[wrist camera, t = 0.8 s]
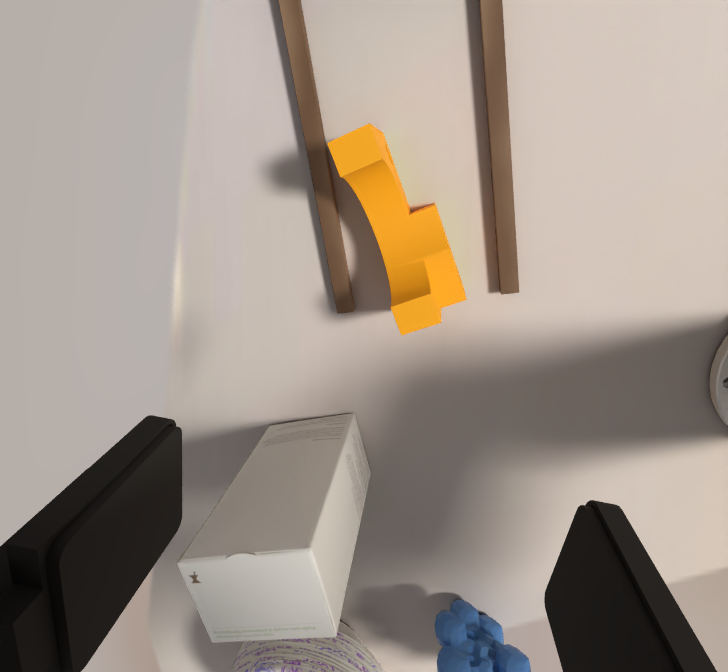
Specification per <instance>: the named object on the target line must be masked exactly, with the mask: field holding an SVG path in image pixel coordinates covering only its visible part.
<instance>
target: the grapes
mask: <svg viewBox="0 0 728 672" xmlns="http://www.w3.org/2000/svg"><path fill="white" fill-rule="evenodd" d="M435 633H436V637H437V640H438V642H439V643H440V645H441V646H442V647H443V648H442V649H441V650H440V651H439V653H438V659H437V669H438V672H531V668H530V663H529V659H528V657H527V656H526V655H524V654H523V653H522V652H521V651H520V650H518V649H517V648H515V647H513V646H511V645H508V644H507V645H503V643H504V638H503V631H502V627H501V625H500V624H499V623H498V622H496V621H495V620H494V619H493V618H491V617H489V616H486V615H479V614H478V610H477V609H476V608H474V607H473V606H472V605H471V604H470V603H468V602H466V601H464V600H455V601H454V602H453V603H452V604H451V607H450V611H449V610H446V611H441V612H440V613H439V614H438V615H437V616H436V621H435Z"/></svg>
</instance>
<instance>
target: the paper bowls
mask: <svg viewBox="0 0 728 672" xmlns="http://www.w3.org/2000/svg"><path fill="white" fill-rule="evenodd" d="M230 672H384V670H383V668H382V666H381V665H380V663H379V662H378V661H377V659H376V658H375V657H374V655H373V654H372V653H371V652H370V651H369V650H368V649H367V648H366V647H365V646H364V644H363V643H362V641H361V639H360V638H359V637H358V636H357V634H356V633H355V632H354V631H353V630H352V629H351V628H349V627H348V626H347V625H345V624H344V623H342V622H341V621H339V626H338V630H337V636H336V637H325V638H299V639H276V640H256V641H243V643H242V645H241V647H240V650H239V652H238V654H237V657H236V659H235V661H234V664H233V666H232V669H231V671H230Z"/></svg>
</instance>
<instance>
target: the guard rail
mask: <svg viewBox="0 0 728 672" xmlns="http://www.w3.org/2000/svg"><path fill="white" fill-rule="evenodd" d="M279 6H280V11H281V16H282V21H283V27H284V32H285V37H286V43H287V48H288V53H289V59H290V64H291V69H292V74H293V80H294V85H295V90H296V96H297V101H298V106H299V112H300V117H301V122H302V127H303V133H304V138H305V143H306V149H307V154H308V159H309V165H310V170H311V175H312V180H313V186H314V191H315V196H316V202H317V207H318V212H319V218H320V223H321V228H322V233H323V239H324V244H325V249H326V255H327V260H328V265H329V271H330V276H331V281H332V286H333V292H334V297H335V302H336V308H337V313H347V312H353V311H354V309H355V307H354V301H353V296H352V290H351V284H350V279H349V273H348V267H347V262H346V256H345V250H344V244H343V239H342V233H341V227H340V222H339V216H338V210H337V205H336V199H335V193H334V188H333V182H332V176H331V171H330V165H329V159H328V153H327V148H326V142H325V136H324V131H323V125H322V119H321V114H320V108H319V102H318V97H317V91H316V85H315V80H314V74H313V68H312V62H311V57H310V51H309V45H308V40H307V34H306V28H305V23H304V17H303V11H302V6H301V0H279ZM479 6H480V20H481V33H482V47H483V61H484V75H485V89H486V103H487V117H488V131H489V145H490V159H491V173H492V187H493V201H494V215H495V229H496V243H497V256H498V270H499V284H500V293H501V294H510V293H518V292H519V281H518V264H517V247H516V230H515V213H514V195H513V178H512V161H511V144H510V127H509V110H508V93H507V75H506V58H505V41H504V24H503V7H502V0H479Z"/></svg>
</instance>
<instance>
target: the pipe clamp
mask: <svg viewBox="0 0 728 672" xmlns="http://www.w3.org/2000/svg"><path fill="white" fill-rule="evenodd" d="M327 144H328V147H329V149H330V152H331V155H332V157H333V160H334V162H335V165H336V167H337V170H338V173H339V175H340V177H342V178H344V179H345V180H346V181H347V182H348V183H349V185H350V186H351V187H352V189H353V190H354V192H355V193H356V195H357V197H358V199H359V200H360V202H361V204H362V206H363V208H364V210H365V212H366V215H367V217H368V219H369V221H370V224H371V226H372V228H373V231H374V233H375V236H376V239H377V242H378V244H379V247H380V250H381V253H382V256H383V260H384V263H385V267H386V270H387V274H388V279H389V284H390V289H391V310H392V312H393V315H394V317H395V320H396V323H397V325H398V328H399V330H400V333H401V335H404V334H407V333H410V332H413V331H417V330H420V329H423V328H426V327H429V326H432V325H435V324H438V323H441V308H443V307H446V306H449V305H452V304H455V303H458V302H461V301H464V300H466V296H465V291H464V287H463V284H462V281H461V278H460V275H459V272H458V270H457V267H456V264H455V261H454V258H453V255H452V252H451V249H450V246H449V243H448V240H447V237H446V234H445V231H444V228H443V225H442V222H441V219H440V216H439V213H438V210H437V207H436V204H435V203H434V204H431V205H429V206H426V207H424V208H421V209H419V210H416V211H414V212H411V210H410V208H409V205H408V202H407V199H406V196H405V193H404V191H403V188H402V185H401V182H400V179H399V176H398V174H397V171H396V168H395V165H394V162H393V159H392V157H391V154H390V151H389V148H388V145H387V142H386V140H385V137H384V134H383V133H382V132H381V131H380V130H378V129H377V128H375V127H374V126H373V125H371V124H367V125H365V126H363V127H361V128H359V129H356V130H354V131H352V132H350V133H348V134H346V135H343V136H341V137H339V138H337V139H335V140H333V141H330V142H328V143H327Z"/></svg>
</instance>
